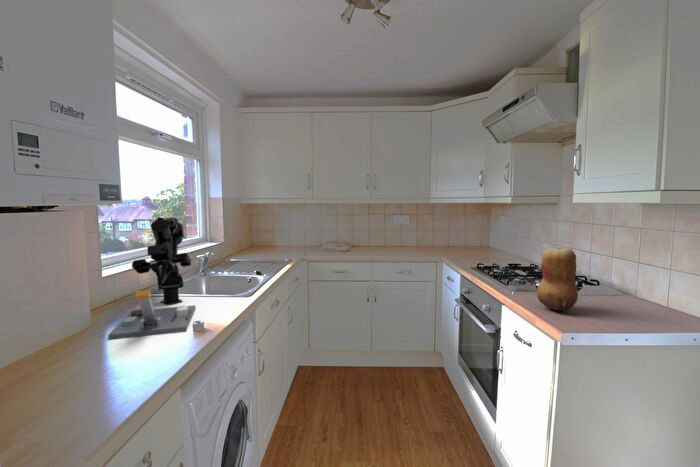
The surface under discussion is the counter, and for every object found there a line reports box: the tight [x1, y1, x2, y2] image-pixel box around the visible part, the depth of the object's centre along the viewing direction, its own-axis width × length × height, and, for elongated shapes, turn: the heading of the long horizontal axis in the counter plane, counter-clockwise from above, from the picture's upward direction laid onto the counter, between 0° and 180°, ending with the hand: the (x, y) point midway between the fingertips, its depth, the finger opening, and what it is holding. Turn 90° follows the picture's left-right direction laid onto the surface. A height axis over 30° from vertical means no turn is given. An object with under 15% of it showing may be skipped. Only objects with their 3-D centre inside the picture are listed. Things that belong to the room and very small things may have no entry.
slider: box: [177, 308, 187, 317], centre depth 122 cm, size 2×3×2 cm, turn 107°
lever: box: [134, 289, 157, 326], centre depth 108 cm, size 2×4×16 cm
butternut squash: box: [536, 246, 579, 312], centre depth 131 cm, size 14×13×25 cm
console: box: [107, 305, 196, 340], centre depth 120 cm, size 24×22×4 cm
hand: (161, 283), depth 121 cm, fingers closed
